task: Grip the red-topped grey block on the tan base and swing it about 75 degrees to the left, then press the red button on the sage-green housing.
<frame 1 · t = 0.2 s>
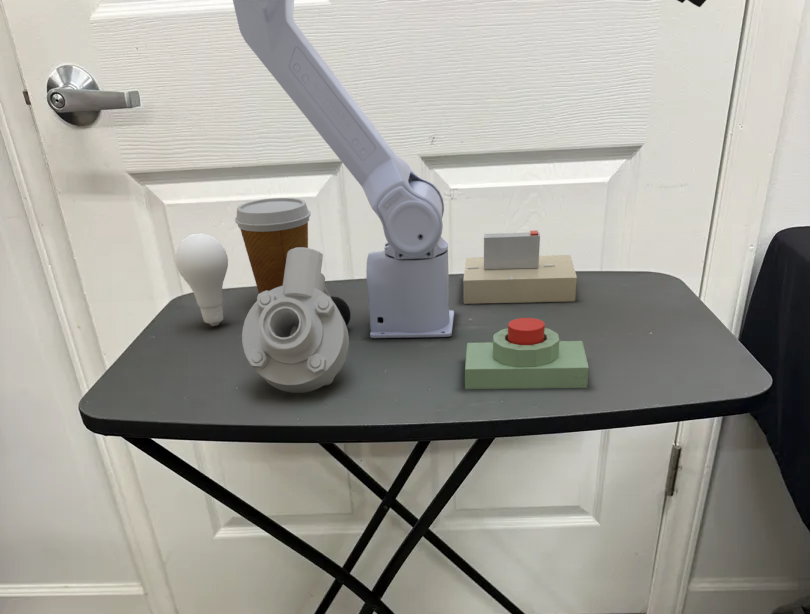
red-topped grey block: (511, 250, 99), point 5 cm above the table, hinge at 0.0°
tan base: (518, 290, 102), on the table
lightbulb: (215, 326, 97), on the table
button box: (524, 374, 79), on the table
centrifugal pump: (313, 362, 86), on the table
disposable coffee cup: (285, 302, 104), on the table
button: (526, 332, 77), point 4 cm above the table, slide at 0.1 cm
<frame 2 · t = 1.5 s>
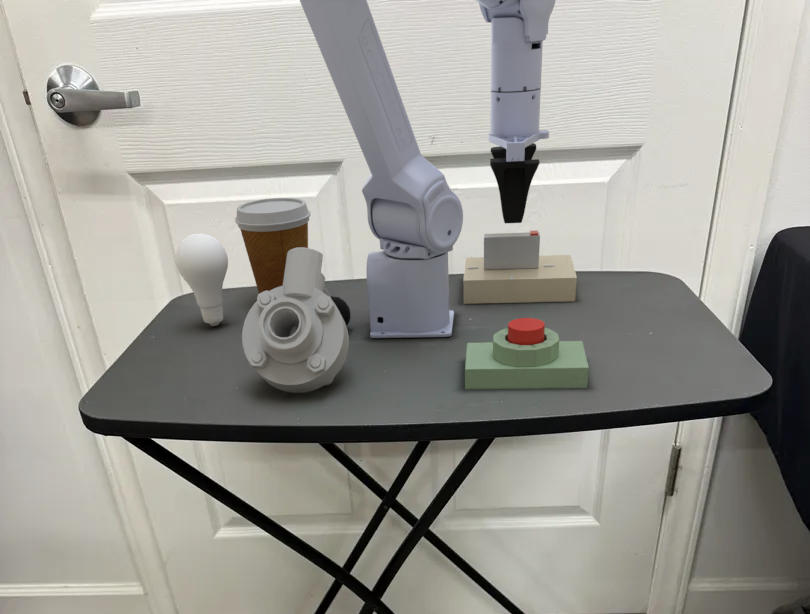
hand: (512, 215, 96), 9 cm above the table, tool pointing down, fingers open, 7 cm apart
nothing on the table moved.
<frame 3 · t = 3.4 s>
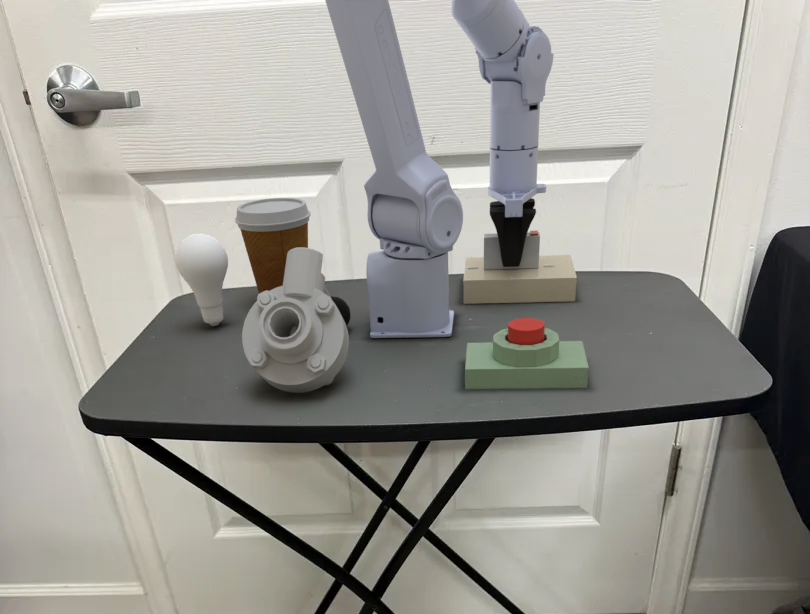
hand: (511, 263, 100), 4 cm above the table, tool pointing down, fingers closed on red-topped grey block, 2 cm apart
red-topped grey block: (511, 250, 99), point 5 cm above the table, hinge at -0.1°, touching gripper
everything else where it was.
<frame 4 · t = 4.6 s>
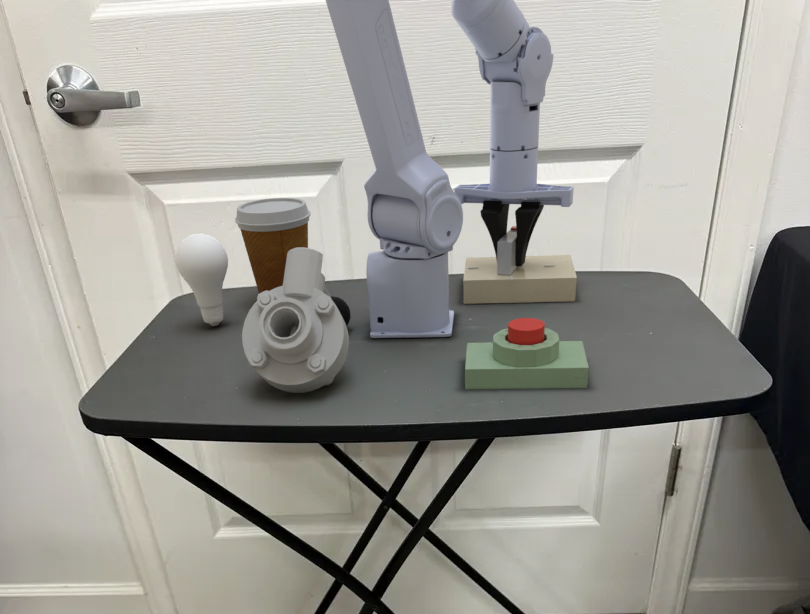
hand: (511, 263, 100), 3 cm above the table, tool pointing down, fingers closed on red-topped grey block, 2 cm apart
red-topped grey block: (511, 250, 99), point 5 cm above the table, hinge at 74.3°, touching gripper
everything else where it was.
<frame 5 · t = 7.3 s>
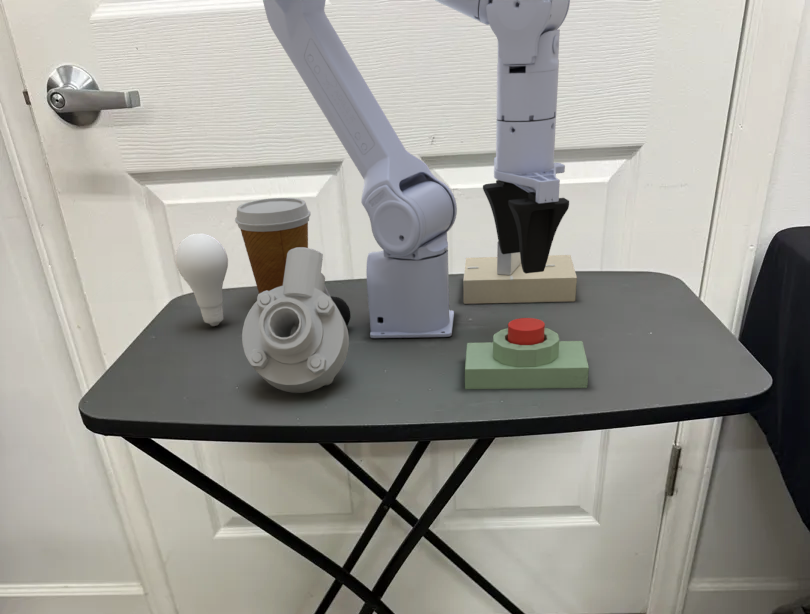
hand: (521, 261, 82), 9 cm above the table, tool pointing down, fingers open, 7 cm apart
red-topped grey block: (511, 250, 99), point 5 cm above the table, hinge at 74.3°
everything else where it was.
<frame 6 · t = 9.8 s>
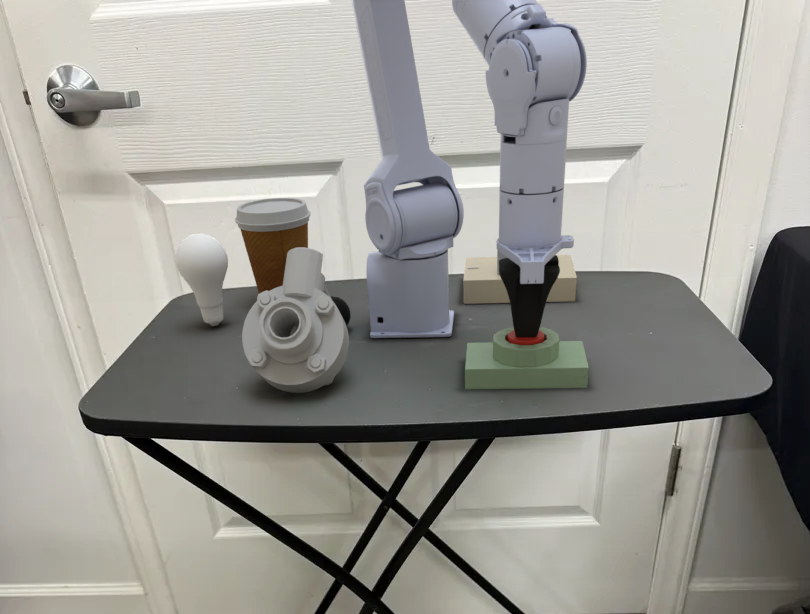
hand: (526, 335, 77), 4 cm above the table, tool pointing down, fingers closed, pressing on button
button: (525, 343, 77), point 3 cm above the table, slide at -1.0 cm, touching gripper
everything else where it was.
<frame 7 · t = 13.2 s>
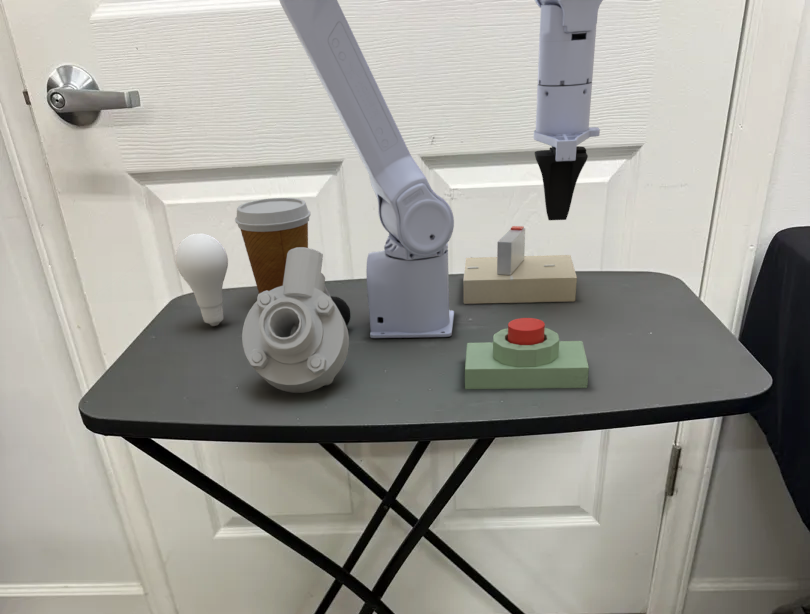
hand: (556, 218, 90), 10 cm above the table, tool pointing down, fingers closed
button: (526, 332, 77), point 4 cm above the table, slide at 0.1 cm
everything else where it was.
at the end: red-topped grey block at +74° (first picture: +0°); button pushed in 1.2 cm at the most during the clip, back to where it started at the end; button slide at 0.1 cm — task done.
